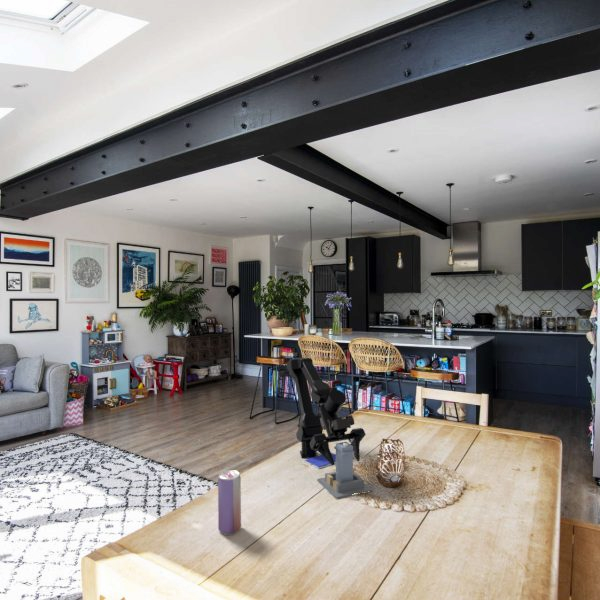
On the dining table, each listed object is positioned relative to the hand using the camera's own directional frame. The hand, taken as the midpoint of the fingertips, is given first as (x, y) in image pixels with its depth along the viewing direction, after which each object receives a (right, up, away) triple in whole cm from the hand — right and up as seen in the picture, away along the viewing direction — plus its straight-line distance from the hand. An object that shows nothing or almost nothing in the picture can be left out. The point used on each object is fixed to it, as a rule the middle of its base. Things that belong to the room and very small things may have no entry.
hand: (346, 462), depth 141 cm
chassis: (0, -8, +1) cm, 8 cm away
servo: (0, -8, +1) cm, 8 cm away
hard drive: (-6, -8, +22) cm, 24 cm away
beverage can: (-34, -9, -24) cm, 43 cm away
